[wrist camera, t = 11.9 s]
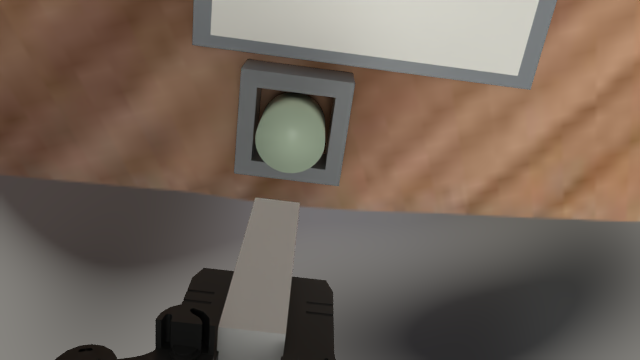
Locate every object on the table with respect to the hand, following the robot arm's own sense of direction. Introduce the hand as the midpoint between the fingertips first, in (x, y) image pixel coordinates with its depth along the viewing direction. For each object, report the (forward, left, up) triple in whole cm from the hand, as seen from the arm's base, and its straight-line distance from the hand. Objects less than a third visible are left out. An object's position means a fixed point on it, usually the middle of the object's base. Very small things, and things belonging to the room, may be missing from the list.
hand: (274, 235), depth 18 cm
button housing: (0, 0, -14) cm, 14 cm away
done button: (0, 0, -13) cm, 13 cm away
